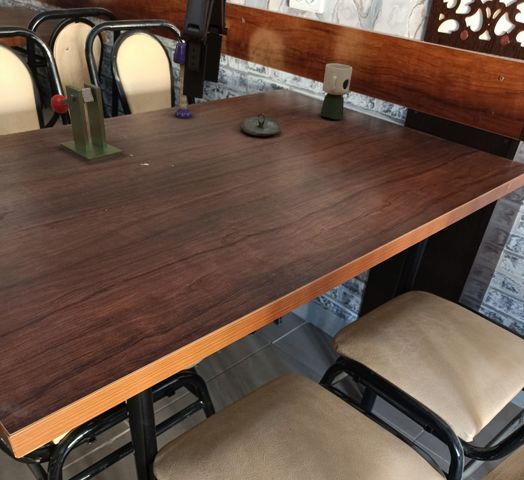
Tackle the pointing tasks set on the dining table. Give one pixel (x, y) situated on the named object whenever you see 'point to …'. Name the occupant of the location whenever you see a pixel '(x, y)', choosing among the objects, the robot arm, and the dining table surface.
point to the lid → (260, 126)
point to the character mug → (335, 89)
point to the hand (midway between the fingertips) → (201, 88)
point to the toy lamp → (181, 80)
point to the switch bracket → (82, 143)
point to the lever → (61, 102)
